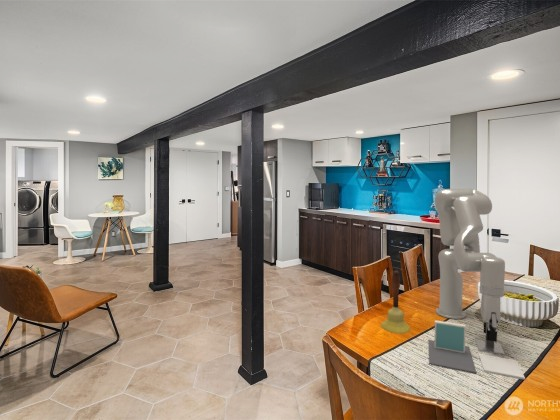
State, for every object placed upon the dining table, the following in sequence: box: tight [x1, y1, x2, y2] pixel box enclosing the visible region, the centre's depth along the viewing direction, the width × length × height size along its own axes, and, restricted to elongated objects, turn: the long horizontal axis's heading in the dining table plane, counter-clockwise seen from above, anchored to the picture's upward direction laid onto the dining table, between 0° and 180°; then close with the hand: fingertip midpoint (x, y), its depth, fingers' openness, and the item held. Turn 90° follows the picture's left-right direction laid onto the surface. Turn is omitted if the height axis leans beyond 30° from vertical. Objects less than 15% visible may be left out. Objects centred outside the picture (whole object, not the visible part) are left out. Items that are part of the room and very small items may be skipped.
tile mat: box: [427, 339, 477, 375], centre depth 114 cm, size 18×14×1 cm
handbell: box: [380, 270, 411, 335], centre depth 136 cm, size 12×12×25 cm
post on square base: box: [475, 322, 506, 357], centre depth 118 cm, size 8×8×10 cm
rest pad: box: [478, 353, 526, 381], centre depth 106 cm, size 11×11×1 cm
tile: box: [433, 320, 467, 353], centre depth 117 cm, size 2×10×10 cm, turn 65°
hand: (489, 336), depth 118 cm, fingers open, 5 cm apart
